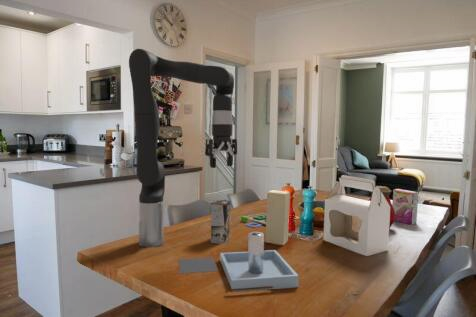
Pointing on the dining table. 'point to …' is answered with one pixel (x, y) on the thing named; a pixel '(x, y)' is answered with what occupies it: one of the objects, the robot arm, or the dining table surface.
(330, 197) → the gable box
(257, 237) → the bushing
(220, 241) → the coffee box
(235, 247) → the dining table surface
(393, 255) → the dining table surface
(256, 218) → the shape sorter
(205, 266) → the mat
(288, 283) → the tray
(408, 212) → the candy bar box
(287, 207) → the beige rectangular block
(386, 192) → the bottle
